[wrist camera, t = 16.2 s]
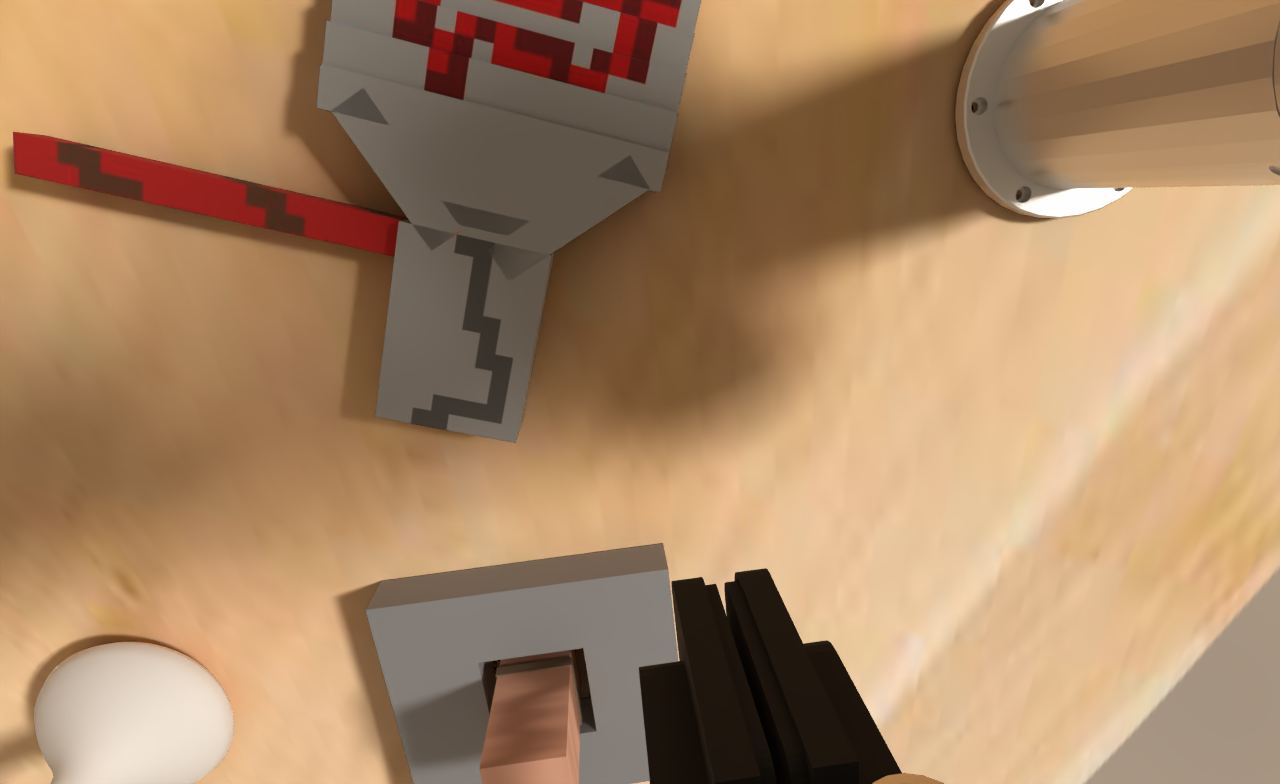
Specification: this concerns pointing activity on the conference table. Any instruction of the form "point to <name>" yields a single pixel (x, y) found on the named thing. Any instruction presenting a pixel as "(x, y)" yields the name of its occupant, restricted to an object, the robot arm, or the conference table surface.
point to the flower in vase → (132, 717)
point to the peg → (534, 721)
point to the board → (523, 653)
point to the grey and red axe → (456, 173)
